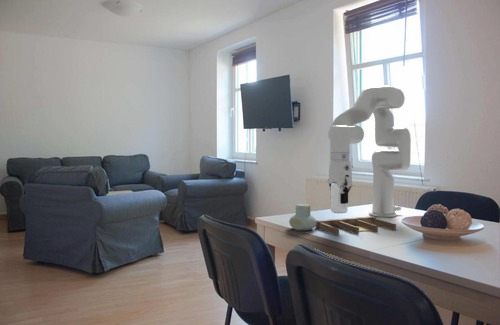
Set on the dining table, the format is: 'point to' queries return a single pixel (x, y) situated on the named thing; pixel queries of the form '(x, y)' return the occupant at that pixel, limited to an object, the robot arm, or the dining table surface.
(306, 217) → the air freshener
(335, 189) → the can
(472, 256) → the dining table surface
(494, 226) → the dining table surface
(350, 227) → the notch rack
